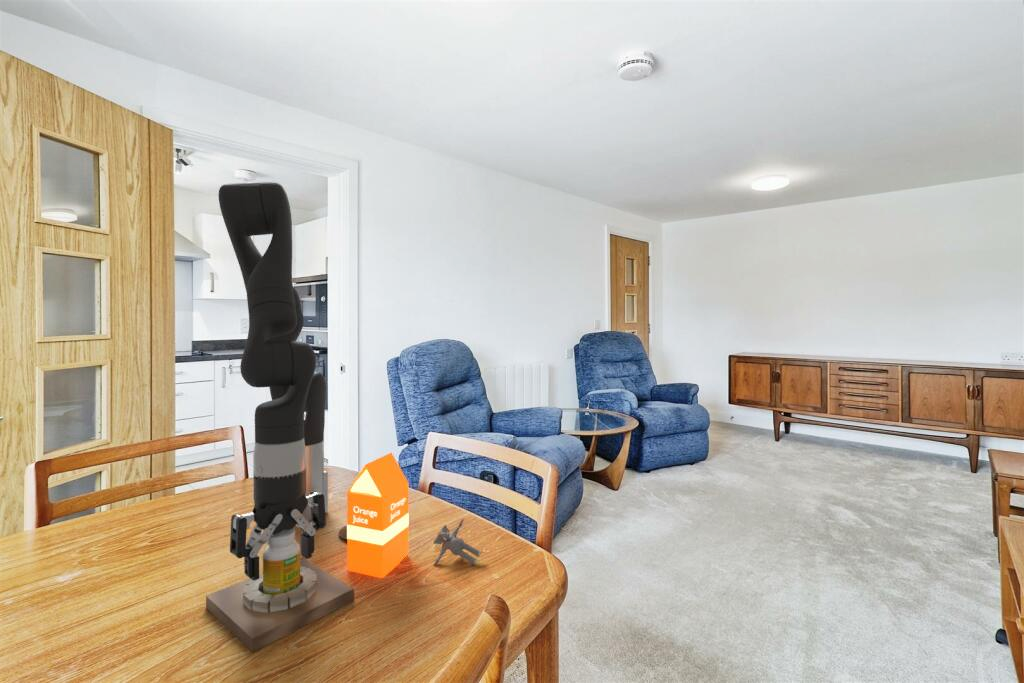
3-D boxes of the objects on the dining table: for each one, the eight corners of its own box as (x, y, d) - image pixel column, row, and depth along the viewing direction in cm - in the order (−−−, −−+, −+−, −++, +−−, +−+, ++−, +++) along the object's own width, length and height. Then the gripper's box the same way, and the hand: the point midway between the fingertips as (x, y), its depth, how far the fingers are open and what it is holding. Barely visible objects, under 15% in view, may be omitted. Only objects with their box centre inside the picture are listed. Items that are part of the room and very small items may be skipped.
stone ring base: (302, 567, 90) (302, 549, 89) (354, 600, 80) (354, 579, 80) (206, 607, 77) (205, 586, 77) (252, 652, 67) (252, 628, 67)
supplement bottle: (285, 603, 75) (285, 541, 75) (255, 598, 76) (254, 538, 76) (307, 584, 81) (306, 526, 80) (278, 580, 82) (277, 523, 81)
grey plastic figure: (463, 579, 87) (421, 553, 90) (464, 588, 92) (425, 563, 94) (491, 530, 93) (452, 507, 96) (492, 541, 97) (454, 518, 100)
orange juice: (409, 555, 95) (409, 454, 94) (382, 578, 86) (383, 467, 85) (374, 548, 97) (374, 449, 96) (346, 570, 89) (345, 462, 88)
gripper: (310, 453, 85) (310, 544, 86) (221, 473, 74) (222, 577, 75) (334, 461, 80) (334, 557, 81) (243, 484, 69) (244, 595, 70)
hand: (281, 567), depth 78 cm, fingers open, 8 cm apart
